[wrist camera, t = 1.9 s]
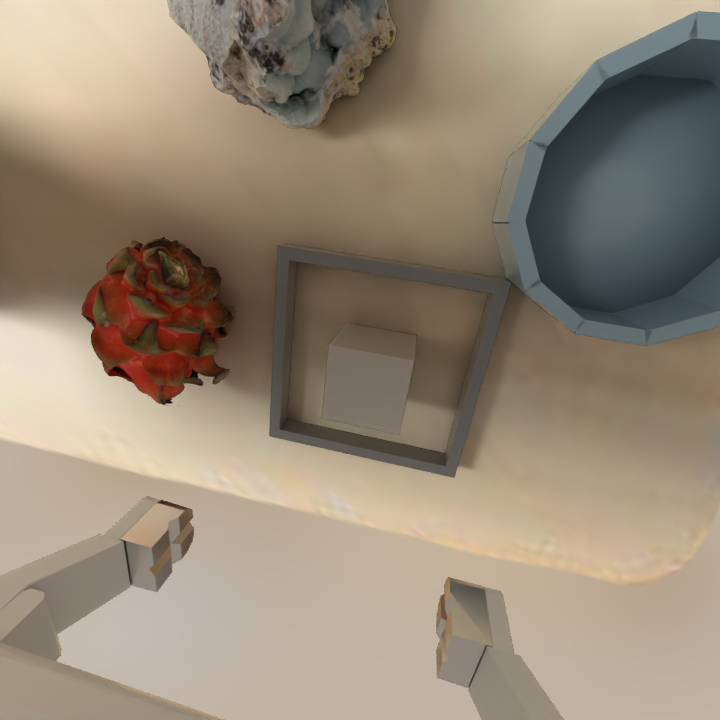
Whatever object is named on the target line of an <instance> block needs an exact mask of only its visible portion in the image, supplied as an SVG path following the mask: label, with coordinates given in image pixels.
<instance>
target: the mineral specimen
mask: <svg viewBox="0 0 720 720" xmlns="http://www.w3.org/2000/svg"><path fill="white" fill-rule="evenodd" d="M167 2H168V6H169V11H170V17H171V18H172V19H173V20H174V22H175V23H176V24H178V25H179V26H180V27H181V28H182V29H183V30H184V31H185V32H186V33H187V34H188V35H189V36H190V38H191V39H192V40H193V41H194V42H195V43H196V45H197V46H198V47H199V48H200V49H201V50H202V51H203V52H204V53H205V54H206V56H207V59H208V66H209V68H210V77H211V79H212V82H213V84H214V86H215V88H217V89H218V90H220V91H221V92H223V93H227V94H230V95H232V96H234V97H235V98H236V99H237V101H238V102H240V103H243V104H245V105H246V104H249V105H252V106H255V107H258V108H259V109H261V110H262V111H263V112H264V113H265V114H268V115H270V116H272V117H274V118H276V119H277V120H278V121H279V122H280V123H282V124H283V125H285V126H287V127H289V128H301V127H304V128H307V129H313V128H315V127H317V126H318V125H319V124H321V123H322V122H324V121H325V114H326V113H327V112H328V110H329V106H330V104H331V102H332V101H333V100H335V99H337V98H339V97H343V96H352V95H353V96H357V95H358V93H359V92H360V89H359V87H360V83H361V81H362V80H363V78H364V70H365V68H366V67H368V66H370V64H371V61H372V59H373V57H374V56H379V55H380V54H382V50H386V49H389V48H390V47H391V46H392V44H393V43H394V40H395V36H396V30H397V28H396V26H395V25H394V23H393V22H392V20H391V16H390V11H389V6H388V3H387V0H167Z"/></svg>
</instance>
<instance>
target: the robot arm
mask: <svg viewBox="0 0 720 720" xmlns="http://www.w3.org/2000/svg"><path fill="white" fill-rule="evenodd" d="M192 518H193V511H192V509H190V508H186V507H183V506H180V505H176V504H173V503H170V502H167V501H163V500H160V499H156V498H153V497H149V496H147V497H145V498H143V499H142V500H141V501H139V502H138V503H137V504H136V505H135V506H134V507H133V508H132V509H131V510H130V511H129V512H128V513H127V514H125V515H124V516H123V517H122V518H121V519H120V520H119V521H118V522H117V523H116V524H115V525H114V526H113V527H112V528H111V529H109V530H108V531H107V532H106V533H105V534H104V535H100V534H98V535H96V536H93V537H91V538H89V539H86V540H84V541H81V542H79V543H77V544H74V545H72V546H70V547H68V548H65V549H63V550H60V551H58V552H55V553H53V554H51V555H49V556H46V557H44V558H41V559H39V560H36V561H34V562H32V563H30V564H27V565H25V566H22V567H20V568H17V569H15V570H13V571H10V572H8V573H6V574H3V575H1V576H0V720H224V719H221V718H218V717H216V716H212V715H210V714H207V713H204V712H201V711H198V710H195V709H192V708H190V707H187V706H184V705H181V704H178V703H175V702H172V701H169V700H166V699H164V698H161V697H158V696H155V695H152V694H149V693H146V692H143V691H140V690H137V689H135V688H132V687H129V686H126V685H123V684H120V683H117V682H114V681H111V680H109V679H106V678H103V677H100V676H97V675H94V674H91V673H88V672H86V671H82V670H80V669H77V668H74V667H71V666H68V665H65V664H62V663H59V662H57V661H56V660H57V659H58V658H59V657H60V656H61V646H60V643H59V639H58V636H57V634H58V633H60V632H61V631H63V630H64V629H66V628H68V627H69V626H71V625H72V624H74V623H75V622H77V621H78V620H80V619H81V618H83V617H85V616H86V615H88V614H89V613H91V612H92V611H94V610H95V609H97V608H99V607H100V606H102V605H103V604H105V603H106V602H108V601H109V600H111V599H113V598H114V597H116V596H117V595H119V594H120V593H122V592H123V591H125V590H127V589H128V588H130V585H132V586H136V587H140V588H143V589H147V590H151V591H155V592H157V591H158V590H159V589H160V587H161V586H162V585H163V583H164V582H165V581H166V580H167V578H168V577H169V576H170V574H171V573H172V564H173V563H176V562H177V561H179V560H181V559H182V558H183V557H184V555H185V554H186V553H187V551H188V549H189V547H190V545H191V543H192V541H193V536H194V527H193V526H192V525H191V523H190V520H191V519H192ZM436 633H437V635H438V637H439V638H440V641H439V644H438V647H437V650H436V652H437V654H436V655H437V678H440V679H443V680H445V681H448V682H452V683H454V684H457V685H460V686H464V687H466V688H469V690H468V691H469V693H470V695H471V697H472V699H473V702H474V704H475V706H476V708H477V710H478V712H479V715H480V717H481V719H482V720H564V719H563V718H562V716H561V715H560V713H559V712H558V710H557V709H556V707H555V706H554V704H553V703H552V701H551V700H550V699H549V697H548V696H547V694H546V693H545V691H544V690H543V689H542V687H541V685H540V684H539V683H538V681H537V680H536V678H535V677H534V675H533V674H532V672H531V671H530V669H529V668H528V667H527V665H526V664H525V662H524V661H523V659H522V658H521V656H519V655H516V654H514V649H513V644H512V639H511V633H510V628H509V623H508V618H507V613H506V608H505V602H504V598H503V594H502V592H501V591H498V590H494V589H491V588H487V587H482V586H481V585H477V584H473V583H469V582H465V581H461V580H457V579H454V578H449V577H448V578H447V579H446V582H445V585H444V594H443V595H442V596H441V597H440V601H439V604H438V610H437V621H436Z"/></svg>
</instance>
